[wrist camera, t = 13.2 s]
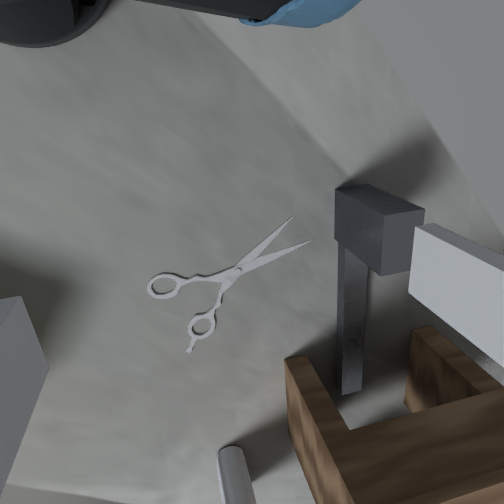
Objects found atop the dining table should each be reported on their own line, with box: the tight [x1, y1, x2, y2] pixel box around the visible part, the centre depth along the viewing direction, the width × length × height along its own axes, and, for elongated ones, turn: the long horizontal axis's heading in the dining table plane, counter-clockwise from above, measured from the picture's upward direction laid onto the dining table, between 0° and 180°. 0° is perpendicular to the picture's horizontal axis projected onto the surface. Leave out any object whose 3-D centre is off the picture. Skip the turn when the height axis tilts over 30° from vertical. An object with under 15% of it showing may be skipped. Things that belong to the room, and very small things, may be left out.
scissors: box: [147, 215, 312, 353], centre depth 43 cm, size 11×1×20 cm
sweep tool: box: [334, 184, 425, 395], centre depth 43 cm, size 29×4×10 cm, turn 5°
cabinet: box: [284, 326, 504, 504], centre depth 45 cm, size 16×23×22 cm
